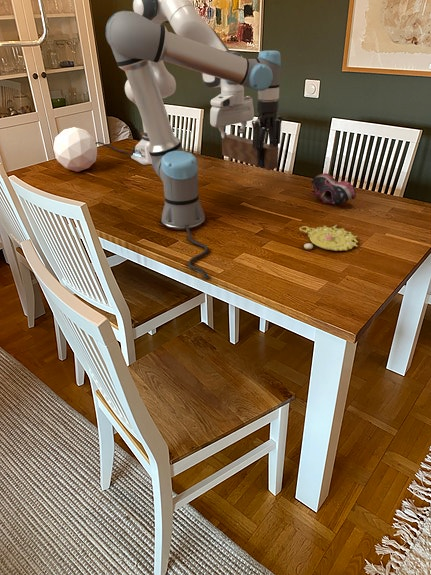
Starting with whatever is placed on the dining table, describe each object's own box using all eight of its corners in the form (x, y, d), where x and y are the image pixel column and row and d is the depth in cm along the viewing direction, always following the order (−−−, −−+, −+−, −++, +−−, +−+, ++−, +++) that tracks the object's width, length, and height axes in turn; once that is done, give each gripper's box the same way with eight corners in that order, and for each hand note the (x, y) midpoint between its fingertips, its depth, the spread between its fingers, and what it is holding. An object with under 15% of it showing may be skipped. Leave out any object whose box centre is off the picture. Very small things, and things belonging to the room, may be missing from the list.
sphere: (84, 186, 210) (70, 160, 191) (54, 166, 215) (37, 139, 196) (110, 158, 215) (99, 131, 196) (80, 139, 219) (66, 110, 201)
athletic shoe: (320, 172, 177) (296, 180, 173) (357, 167, 157) (330, 175, 153) (326, 200, 180) (302, 208, 176) (363, 198, 160) (336, 207, 156)
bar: (277, 167, 168) (278, 146, 164) (269, 170, 166) (269, 149, 161) (230, 153, 186) (230, 133, 182) (222, 155, 184) (221, 135, 180)
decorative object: (343, 255, 128) (285, 234, 139) (342, 262, 130) (284, 241, 140) (372, 230, 142) (317, 213, 152) (371, 237, 143) (316, 219, 153)
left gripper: (247, 94, 178) (246, 129, 185) (207, 101, 168) (208, 138, 175) (257, 95, 174) (257, 132, 181) (217, 103, 163) (218, 141, 171)
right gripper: (278, 95, 164) (275, 158, 176) (242, 102, 155) (242, 167, 167) (293, 98, 159) (288, 162, 171) (257, 104, 150) (255, 172, 162)
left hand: (232, 135), depth 178 cm, fingers open, 8 cm apart
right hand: (265, 165), depth 169 cm, fingers closed on bar, 5 cm apart
